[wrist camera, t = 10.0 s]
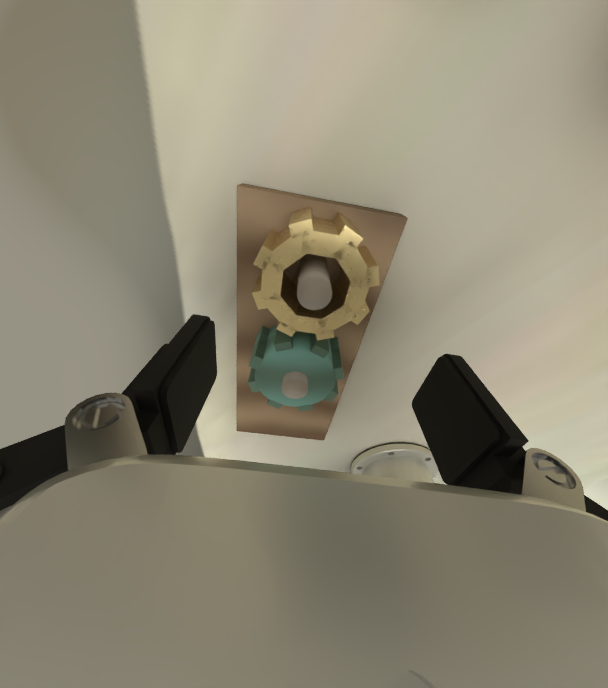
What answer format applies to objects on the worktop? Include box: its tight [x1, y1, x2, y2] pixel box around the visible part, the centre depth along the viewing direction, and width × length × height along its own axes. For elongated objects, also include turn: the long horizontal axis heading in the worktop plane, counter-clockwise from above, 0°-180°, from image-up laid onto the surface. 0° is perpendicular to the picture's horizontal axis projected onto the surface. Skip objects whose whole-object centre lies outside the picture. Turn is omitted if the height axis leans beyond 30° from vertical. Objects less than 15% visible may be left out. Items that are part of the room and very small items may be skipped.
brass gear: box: [252, 207, 379, 341], centre depth 17 cm, size 8×8×4 cm
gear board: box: [237, 184, 408, 440], centre depth 22 cm, size 26×11×6 cm, turn 171°
